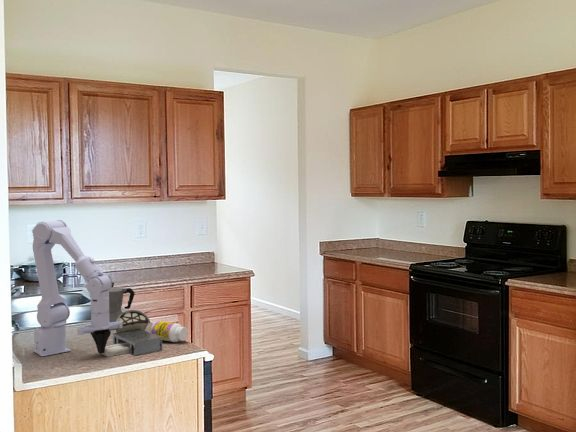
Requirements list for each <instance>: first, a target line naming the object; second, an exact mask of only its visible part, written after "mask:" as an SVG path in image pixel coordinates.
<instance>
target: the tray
mask: <svg viewBox="0 0 576 432" xmlns="http://www.w3.org/2000/svg"><path fill="white" fill-rule="evenodd" d="M128 353H130V343H128V342H125V343H120V344H115V345H113V344H111V345H106V346H105V350H104V353H102V354H101V355H103V356H105V357H107V358H110V356H111V357H115V356H120V355H124V354H128ZM119 354H120V355H119ZM114 355H115V356H114Z"/></svg>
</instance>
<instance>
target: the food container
mask: <svg viewBox="0 0 576 432" xmlns="http://www.w3.org/2000/svg"><path fill="white" fill-rule="evenodd" d="M117 321H121V322H122V326H123V328H117V330H115V331H116V332H115V333H118V332H124V331H129V330H135V329H142V330H144V331H146V329H147V327H148V326H149V324H150V323H151V320H150V318H149V316H148V315H147V314H146V313H144V312H143V311H141V310H138V309H130V310H129V309H127V310H126V311H122V314H121V315H120V316H119V317H118V319H117V320H116V322H117Z"/></svg>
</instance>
